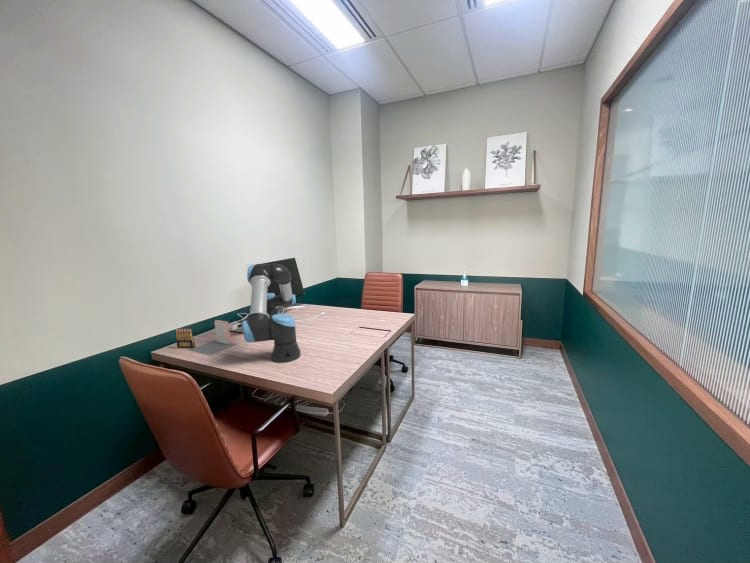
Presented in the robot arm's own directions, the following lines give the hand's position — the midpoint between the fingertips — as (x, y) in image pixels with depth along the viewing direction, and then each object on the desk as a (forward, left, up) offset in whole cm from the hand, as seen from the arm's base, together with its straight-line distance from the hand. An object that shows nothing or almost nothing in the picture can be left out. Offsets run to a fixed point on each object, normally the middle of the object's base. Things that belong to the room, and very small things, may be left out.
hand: (232, 327), depth 188 cm
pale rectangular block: (0, +7, -8) cm, 10 cm away
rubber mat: (0, +14, -8) cm, 16 cm away
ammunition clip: (+15, +21, -8) cm, 27 cm away
